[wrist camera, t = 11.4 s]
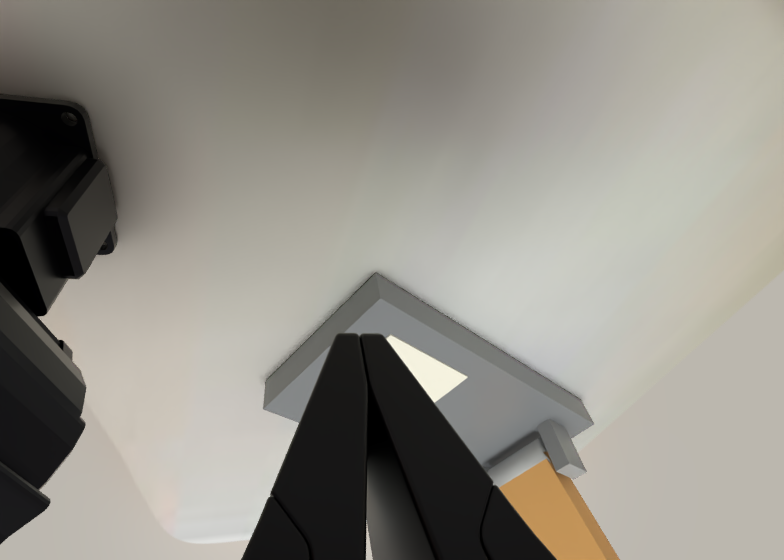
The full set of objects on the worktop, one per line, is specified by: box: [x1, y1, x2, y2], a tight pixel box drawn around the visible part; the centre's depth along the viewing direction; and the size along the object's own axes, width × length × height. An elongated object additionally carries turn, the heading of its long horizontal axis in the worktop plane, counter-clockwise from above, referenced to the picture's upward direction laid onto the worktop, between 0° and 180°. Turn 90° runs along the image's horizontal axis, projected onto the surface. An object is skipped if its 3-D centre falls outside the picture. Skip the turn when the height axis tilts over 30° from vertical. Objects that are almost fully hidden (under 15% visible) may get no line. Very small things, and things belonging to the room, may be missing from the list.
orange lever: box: [488, 437, 620, 560], centre depth 30 cm, size 2×4×10 cm, turn 138°
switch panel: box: [263, 273, 594, 479], centre depth 29 cm, size 20×10×5 cm, turn 48°
